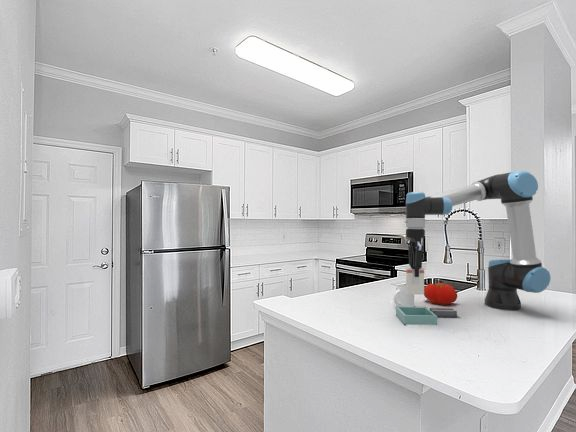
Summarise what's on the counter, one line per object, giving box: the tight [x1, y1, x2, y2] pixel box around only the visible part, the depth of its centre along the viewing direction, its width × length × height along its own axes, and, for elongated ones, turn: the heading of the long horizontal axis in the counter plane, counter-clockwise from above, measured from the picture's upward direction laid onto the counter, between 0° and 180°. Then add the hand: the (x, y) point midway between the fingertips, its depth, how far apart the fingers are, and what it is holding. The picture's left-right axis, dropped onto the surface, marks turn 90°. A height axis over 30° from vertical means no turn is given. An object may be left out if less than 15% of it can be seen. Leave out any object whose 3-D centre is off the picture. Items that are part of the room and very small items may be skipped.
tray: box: [395, 306, 438, 326], centre depth 137 cm, size 13×13×4 cm
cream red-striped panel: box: [405, 267, 425, 295], centre depth 137 cm, size 7×1×11 cm, turn 86°
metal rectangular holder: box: [429, 307, 461, 319], centre depth 143 cm, size 12×8×3 cm, turn 86°
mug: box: [393, 283, 415, 307], centre depth 157 cm, size 12×8×10 cm
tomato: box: [423, 282, 458, 306], centre depth 164 cm, size 14×16×10 cm
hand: (415, 283), depth 137 cm, fingers closed on cream red-striped panel, 1 cm apart
